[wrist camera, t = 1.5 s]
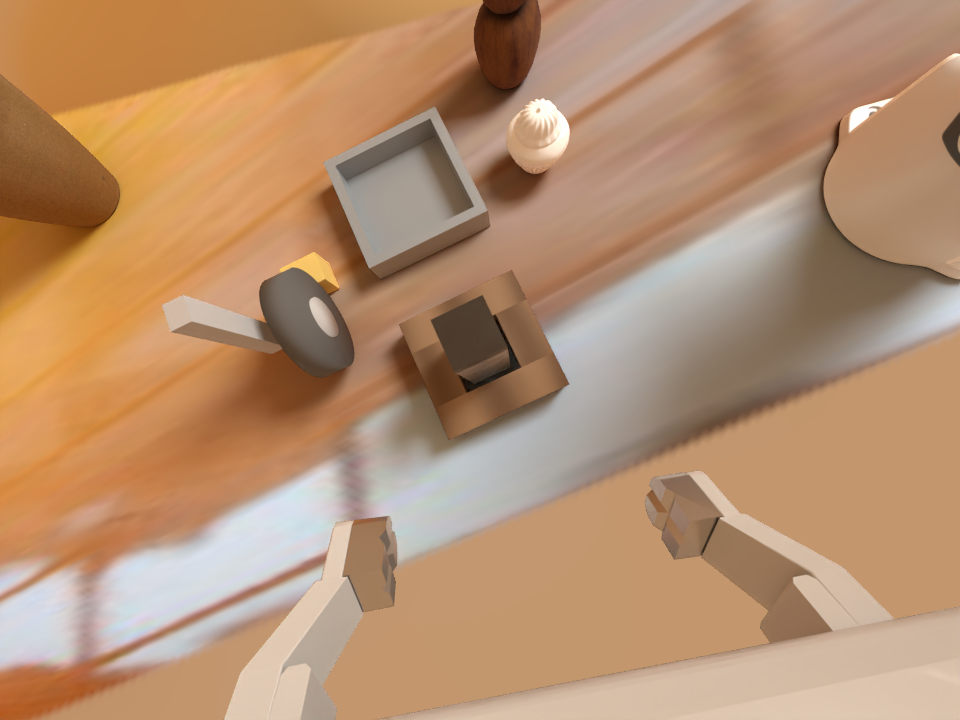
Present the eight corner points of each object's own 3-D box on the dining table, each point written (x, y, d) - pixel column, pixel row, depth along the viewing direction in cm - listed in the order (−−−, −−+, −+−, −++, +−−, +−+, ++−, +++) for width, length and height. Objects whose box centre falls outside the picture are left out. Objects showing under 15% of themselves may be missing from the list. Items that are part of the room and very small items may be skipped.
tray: (441, 129, 41) (435, 106, 38) (490, 226, 39) (487, 210, 35) (337, 180, 41) (323, 162, 38) (380, 279, 39) (369, 268, 36)
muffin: (517, 195, 39) (518, 148, 32) (499, 147, 40) (495, 91, 33) (573, 174, 38) (585, 123, 31) (553, 126, 39) (560, 66, 32)
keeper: (512, 280, 37) (511, 270, 35) (565, 386, 36) (569, 384, 33) (408, 330, 38) (398, 324, 35) (454, 437, 36) (449, 440, 33)
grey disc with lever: (329, 263, 40) (218, 177, 25) (372, 368, 38) (279, 342, 23) (276, 289, 40) (135, 220, 25) (315, 395, 38) (187, 387, 23)
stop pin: (493, 331, 37) (482, 294, 25) (510, 366, 36) (507, 346, 24) (458, 348, 37) (430, 319, 25) (474, 383, 36) (453, 372, 24)
